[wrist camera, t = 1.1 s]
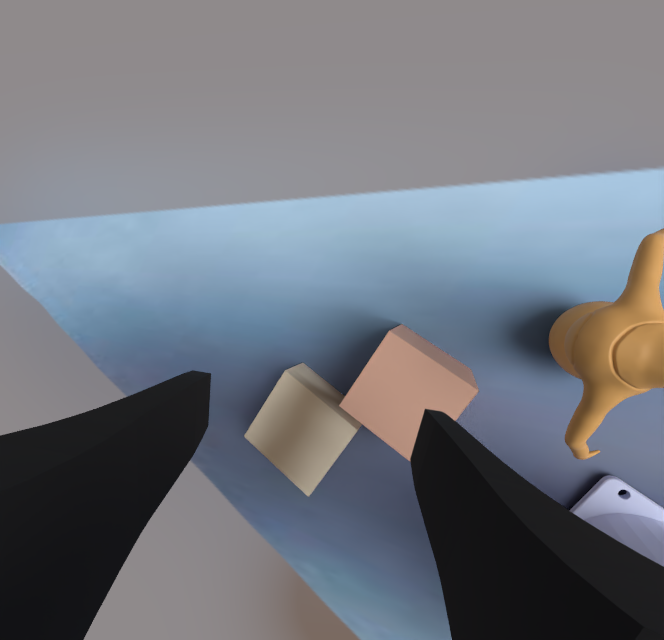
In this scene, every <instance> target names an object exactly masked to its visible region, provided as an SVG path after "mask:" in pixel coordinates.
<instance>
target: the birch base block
mask: <svg viewBox="0 0 664 640" xmlns="http://www.w3.org/2000/svg"><path fill="white" fill-rule="evenodd" d="M344 398H345V396H344V395H343V394H341V393H340V392H339V391H338V390H336V389H335V388H334V387H333V386H331V385H330V384H329V383H328V382H327V381H325V380H324V379H323V378H322V377H320V376H319V375H318V374H317V373H315V372H314V371H313V370H312V369H310V368H309V367H308V366H307V365H305V364H304V363H301V364H298V365H296V366H294V367H292V368H289V369H287V370H285V371H284V373H283V374H282V376H281V378H280V379H279V381H278V382H277V384H276V386H275V387H274V389H273V391H272V392H271V394H270V395H269V397H268V399H267V400H266V402H265V403H264V405H263V407H262V408H261V410H260V411H259V413H258V415H257V416H256V418H255V419H254V421H253V423H252V424H251V426H250V427H249V429H248V431H247V432H246V434H245V435H244V437H245V438H246V439H247V440H248V441H249V442H250V443H252V444H253V445H254V446H255V447H256V448H257V449H258V450H259V451H260V452H261V453H262V454H263V455H264V456H265V457H266V458H267V459H269V460H270V461H271V462H272V463H273V464H274V465H275V466H276V467H277V468H278V469H279V470H280V471H281V472H282V473H283V474H285V475H286V476H287V477H288V478H289V479H290V480H291V481H292V482H293V483H294V484H295V485H296V486H297V487H298V488H299V489H300V490H302V491H303V492H304V493H305V494H306V495H307V496H308V497H309V496H310V494H311V493H312V492H313V490H314V489H315V488H316V486H317V485H318V484H319V482H320V481H321V480H322V478H323V477H324V476H325V474H326V473H327V472H328V470H329V469H330V467H331V466H332V465H333V463H334V462H335V461H336V459H337V458H338V457H339V455H340V454H341V453H342V451H343V450H344V449H345V447H346V446H347V445H348V443H349V442H350V441H351V439H352V438H353V436H354V435H355V434H356V432H357V431H358V430H359V428H360V427H361V425H362V424H361V423H360V422H359V421H358V420H356V419H355V418H354V417H353V416H351V415H350V414H349V413H347V412H346V411H345V410H344V409H342V408H341V407H340V406H339V405H340V404H341V402H342V401H343V399H344Z"/></svg>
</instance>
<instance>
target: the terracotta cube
mask: <svg viewBox="0 0 664 640" xmlns="http://www.w3.org/2000/svg"><path fill="white" fill-rule="evenodd" d="M478 392H479V390H478V387H477V384H476V381H475V379H474V376H473V373H472V371H471V369H470V368H468V367H467V366H465V365H464V364H462V363H461V362H459V361H457V360H456V359H454V358H453V357H451V356H450V355H448V354H447V353H445V352H444V351H442V350H441V349H439V348H438V347H436V346H435V345H433V344H432V343H430V342H429V341H427V340H426V339H424V338H422V337H421V336H419V335H418V334H416V333H415V332H413V331H412V330H410V329H409V328H407V327H406V326H404V325H403V324H401V325H399V326H397V327H395V328H393V329H391V330H389V332H388V333H387V335H386V336H385V338H384V339H383V341H382V342H381V344H380V345H379V347H378V348H377V350H376V351H375V353H374V354H373V356H372V357H371V359H370V360H369V362H368V363H367V365H366V366H365V368H364V369H363V371H362V372H361V374H360V375H359V377H358V378H357V380H356V381H355V383H354V384H353V386H352V387H351V389H350V390H349V392H348V393H347V395H346V396H345V398H344V399H343V401H342V402H341V404H340V405H339V406H340V407H341V408H342V409H344V410H345V411H346V412H347V413H349V414H350V415H351V416H353V417H354V418H355V419H356V420H358V421H359V422H360V423H361V424H363V425H364V426H365V427H367V428H368V429H369V430H370V431H372V432H373V433H374V434H375V435H377V436H378V437H379V438H381V439H382V440H383V441H384V442H386V443H387V444H388V445H390V446H391V447H392V448H393V449H395V450H396V451H397V452H398V453H400V454H401V455H402V456H404V457H405V458H406V459H407V460H409V461H410V462H411V460H410V458H411V455H412V451H413V448H414V444H415V441H416V437H417V434H418V431H419V427H420V424H421V420H422V417H423V414H424V410H425V409H430V410H436V411H442V412H444V413H446V414H447V415H448V416H450V417H451V418H452V419H453V420H454V421H456V419H457V418H458V417H459V416H460V414H461V413H462V412H463V410H464V409H465V408H466V407H467V405H468V404H469V403H470V402H471V400H472V399H473V398H474V397H475V395H476V394H477V393H478Z"/></svg>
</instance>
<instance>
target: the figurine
mask: <svg viewBox="0 0 664 640" xmlns="http://www.w3.org/2000/svg"><path fill="white" fill-rule="evenodd" d="M663 258H664V229H661V230H659V231H657V232H655V233H653V234H649V235H647V236H646V237H645V238H644V239H643V240H642V242H641V243H640V245H639V247H638V250H637V252H636V254H635V257H634V260H633V264H632V267H631V270H630V273H629V277H628V282H627V285H626V288H625V290H624V291H623V293H622V294H621V296H620V297H619V298H618V300H616V301H615V302H614V303H613V302H603V301H598V302H588V303H584V304H580V305H577V306H575V307H573V308H571V309H569V310H567V311H566V312H564V313H563V314H562V315H561V316H559V317H558V319H557V320H556V321H555V322H554V324H553V326H552V328H551V330H550V334H549V347H550V351H551V353H552V356H553V357H554V359H555V361H556V362H557V363H558V364H559V365H560V366H561V367H562V368H563V369H564V370H565V371H566V372H568V373H569V374H571V375H573V376H575V377H577V378H579V379H582V381H583V384H584V390H583V397H582V400H581V402H580V403H579V405H578V407H577V409H576V411H575V413H574V415H573V417H572V419H571V421H570V423H569V425H568V428H567V431H566V434H565V442H566V444H567V445H568V446H569V447H570V449H571V451H572V452H573V455H574V457H576V458H577V459H581V460H583V459H587V458H590V457H592V456H594V455H596V454H598V453H599V452H600V451H599V450H595V451H589V449H588V446H587V444H586V440H587V439H588V438H589V437H590V436H591V435H592V434H593V432H594V431H595V430H596V429H597V428H598V426H599V425H600V424H601V422H602V420H603V419H604V417H605V415H606V414H607V413H608V412H609V411H610V410H611V409H612V408H613V407H615V406H616V405H617V404H619V403H620V402H621V401H623V400H624V399H626V398H628V397H631V396H634V395H637V394H641V393H644V392H646V391H648V390H650V389H652V388H664V310H663V307H662V304H661V299H660V293H659V283H660V279H661V276H662V270H663Z"/></svg>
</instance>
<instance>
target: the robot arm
mask: <svg viewBox="0 0 664 640" xmlns="http://www.w3.org/2000/svg"><path fill="white" fill-rule="evenodd" d="M210 382H211V373H205V372H198V371H190V372H187V373H184V374H181V375H179V376H176V377H174V378H172V379H169V380H167V381H165V382H162V383H160V384H157V385H155V386H153V387H150V388H148V389H146V390H143V391H141V392H138V393H136V394H133V395H131V396H128V397H126V398H123V399H120V400H118V401H115V402H112V403H110V404H107V405H104V406H102V407H99V408H97V409H93V410H91V411H88V412H85V413H82V414H79V415H76V416H72V417H69V418H65V419H62V420H59V421H55V422H52V423H49V424H45V425H42V426H37V427H33V428H29V429H25V430H21V431H17V432H13V433H9V434H5V435H1V436H0V640H83V639H84V637H85V635H86V633H87V631H88V629H89V628H90V626H91V624H92V622H93V620H94V618H95V616H96V614H97V612H98V610H99V608H100V607H101V605H102V603H103V601H104V599H105V597H106V596H107V593H108V592H109V590H110V588H111V586H112V584H113V582H114V580H115V579H116V577H117V575H118V573H119V571H120V569H121V567H122V566H123V564H124V562H125V561H126V559H127V557H128V555H129V553H130V551H131V550H132V548H133V546H134V544H135V543H136V541H137V539H138V537H139V536H140V534H141V532H142V530H143V529H144V527H145V526H146V524H147V523H148V521H149V520H150V518H151V517H152V515H153V513H154V512H155V511H156V509H157V508H158V506H159V505H160V503H161V502H162V500H163V499H164V498H165V496H166V494H167V493H168V492H169V490H170V489H171V487H172V486H173V484H174V483H175V481H176V480H177V479H178V477H179V475H180V474H181V473H182V471H183V470H184V468H185V467H186V465H187V464H188V462H189V461H190V459H191V458H192V456H193V455H194V453H195V451H196V449H197V447H198V445H199V443H200V441H201V439H202V437H203V435H204V433H205V431H206V429H207V427H208V419H209V400H210ZM410 460H411V467H412V474H413V480H414V486H415V491H416V495H417V498H418V502H419V505H420V509H421V512H422V516H423V519H424V523H425V526H426V530H427V533H428V537H429V540H430V543H431V547H432V550H433V554H434V557H435V561H436V564H437V568H438V572H439V576H440V580H441V585H442V590H443V595H444V600H445V605H446V610H447V615H448V620H449V625H450V631H451V637H452V640H664V508H663V507H661V506H660V505H658V504H657V503H655V502H654V501H652V500H651V499H649V498H648V497H646V496H645V495H643V494H642V493H640V492H639V491H637V490H636V489H634V488H633V487H631V486H630V485H628V484H627V483H625V482H624V481H622V480H621V479H619V478H617V477H615V476H611V475H608V476H604V477H603V478H601V479H600V480H599V481H598V482H597V483H596V484H595V485H594V486H593V487H592V488H591V489H590V490H589V491H588V492H587V493H586V494H585V495H584V496H583V497H582V498H581V499H580V500H579V501H578V502H577V503H576V504H575V505H574V506H573V507H572V508H571V509H570V510H567V509H566V508H564V507H563V506H562V505H560V504H559V503H557V502H556V501H554V500H553V499H552V498H550V497H549V496H547V495H546V494H544V493H543V492H541V491H540V490H539V489H537V488H536V487H535V486H533V485H532V484H530V483H529V482H528V481H526V480H525V479H524V478H523V477H521V476H520V475H519V474H517V473H516V472H515V471H514V470H512V469H511V468H510V467H509V466H507V465H506V464H505V463H504V462H502V461H501V460H500V459H499V458H497V457H496V456H495V455H494V454H493V453H492V452H490V451H489V450H488V449H487V448H486V447H484V446H483V445H482V444H481V443H480V442H479V441H478V440H476V439H475V438H474V437H473V436H472V435H471V434H469V433H468V432H467V431H466V430H465V429H464V428H463V427H461V426H460V425H459V424H458V423H457V422H456V421H454V420H453V419H452V418H451V417H450V416H448V415H447V414H446V413H444V412H442V411H436V410H430V409H425V410H424V414H423V417H422V420H421V424H420V427H419V431H418V434H417V437H416V441H415V444H414V448H413V451H412V455H411V458H410ZM620 490H626V491H627V492H626V494H624V495H618V492H619V491H620Z"/></svg>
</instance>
